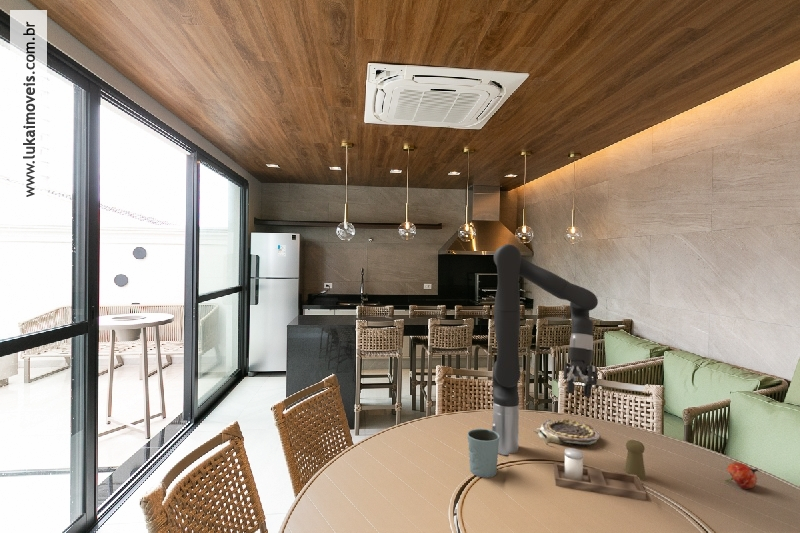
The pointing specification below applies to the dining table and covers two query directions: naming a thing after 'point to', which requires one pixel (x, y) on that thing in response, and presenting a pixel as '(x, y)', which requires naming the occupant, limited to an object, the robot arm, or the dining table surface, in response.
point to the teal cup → (483, 452)
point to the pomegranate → (742, 475)
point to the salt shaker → (573, 464)
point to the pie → (568, 432)
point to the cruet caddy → (602, 482)
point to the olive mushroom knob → (635, 459)
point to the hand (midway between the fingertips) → (578, 395)
